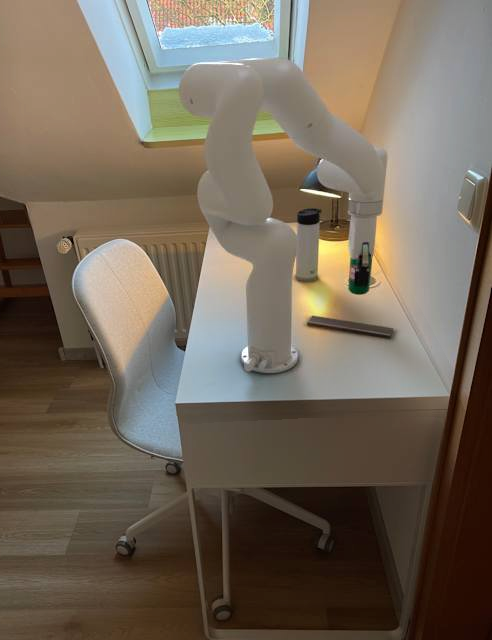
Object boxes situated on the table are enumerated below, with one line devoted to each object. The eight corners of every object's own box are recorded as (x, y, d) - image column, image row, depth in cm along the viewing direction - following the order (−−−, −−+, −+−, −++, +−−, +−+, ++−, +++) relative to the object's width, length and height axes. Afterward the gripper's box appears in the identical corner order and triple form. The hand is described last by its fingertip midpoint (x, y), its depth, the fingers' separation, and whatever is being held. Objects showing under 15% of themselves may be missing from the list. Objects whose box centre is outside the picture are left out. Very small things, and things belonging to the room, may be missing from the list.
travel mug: (317, 282, 156) (320, 213, 146) (294, 281, 157) (296, 212, 147) (319, 273, 161) (322, 206, 151) (296, 273, 163) (298, 206, 152)
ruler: (390, 338, 127) (390, 335, 126) (307, 325, 135) (307, 322, 134) (393, 331, 130) (393, 327, 129) (312, 318, 138) (312, 315, 137)
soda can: (344, 293, 133) (347, 246, 127) (352, 285, 137) (356, 239, 130) (364, 297, 131) (368, 249, 124) (372, 289, 134) (376, 242, 128)
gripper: (344, 196, 130) (340, 267, 140) (352, 218, 116) (346, 296, 125) (376, 195, 129) (370, 267, 139) (388, 217, 115) (380, 296, 125)
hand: (359, 280), depth 132 cm, fingers closed on soda can, 5 cm apart
